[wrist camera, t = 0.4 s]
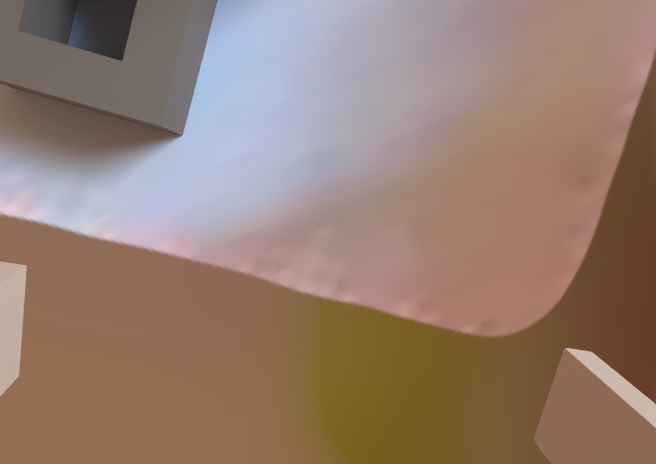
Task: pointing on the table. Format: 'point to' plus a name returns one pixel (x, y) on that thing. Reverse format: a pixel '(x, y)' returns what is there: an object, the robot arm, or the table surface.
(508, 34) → the table surface
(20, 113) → the table surface
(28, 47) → the hole block
